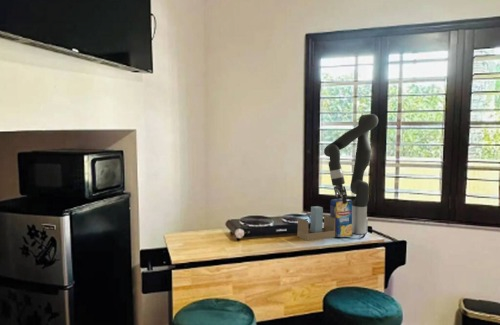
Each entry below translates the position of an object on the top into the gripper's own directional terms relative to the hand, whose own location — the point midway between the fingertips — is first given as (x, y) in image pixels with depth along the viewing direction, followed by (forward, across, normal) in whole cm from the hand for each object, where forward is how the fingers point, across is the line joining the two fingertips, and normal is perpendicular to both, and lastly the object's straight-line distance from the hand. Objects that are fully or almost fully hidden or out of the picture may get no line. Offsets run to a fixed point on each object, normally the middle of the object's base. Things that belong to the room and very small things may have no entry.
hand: (342, 203), depth 230 cm
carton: (+16, -2, +21) cm, 27 cm away
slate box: (+16, -2, +21) cm, 26 cm away
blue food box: (+20, +3, +4) cm, 20 cm away
